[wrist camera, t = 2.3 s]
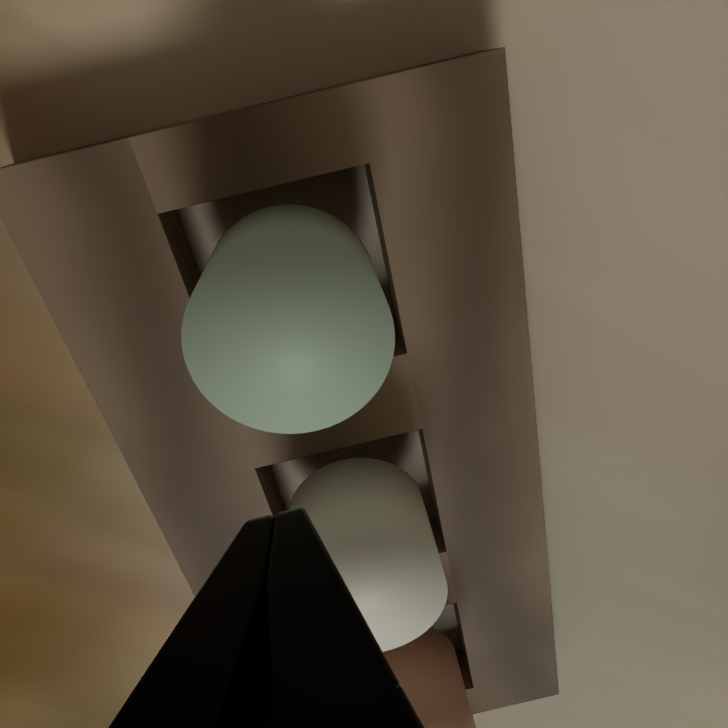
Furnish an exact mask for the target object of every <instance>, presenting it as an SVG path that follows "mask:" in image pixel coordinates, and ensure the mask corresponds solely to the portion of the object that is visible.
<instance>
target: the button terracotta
mask: <svg viewBox="0 0 728 728" xmlns="http://www.w3.org/2000/svg"><path fill="white" fill-rule="evenodd" d="M383 654H384V655H385V657H386V659H387V661H388V663H389V665H390V666H391V668H392V670H393V672H394V674H395V676H396V677H397V679H398V681H399V684H400V686H401V687H402V688H403V690H404V691H405V693H406V695H407V697H408V699H409V701H410V702H411V704H412V706H413V708H414V710H415V712H416V714H417V715H418V717H419V719H420V720H421V722H422V724H423V726H424V727H425V728H476V727H475V723H474V719H473V715H472V712H471V708H470V704H469V701H468V697H467V693H466V690H465V686H464V682H463V679H462V675H461V671H460V667H459V664H458V660H457V656H456V653H455V649H454V646H453V644H452V642H451V641H450V640H449V638H448V637H447V636H446V635H444V634H443V633H442V632H440V631H438V630H436V629H434V628H431V627H430V628H429V629H428V630H427V631H426V632H424V633H423V634H422V635H420V636H419V637H417V638H416V639H414V640H413V641H411V642H409V643H407V644H405V645H403V646H400V647H397V648H395V649H392V650H388V651H384V652H383Z"/></svg>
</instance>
